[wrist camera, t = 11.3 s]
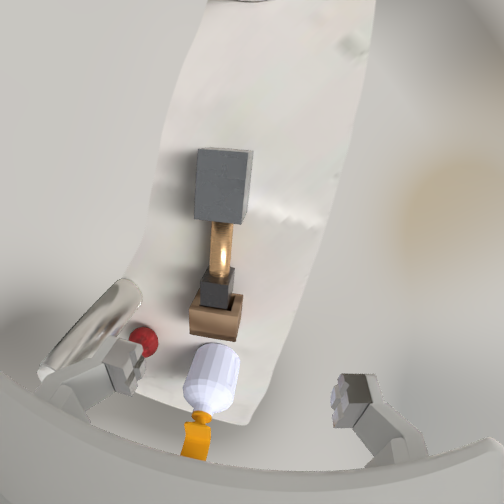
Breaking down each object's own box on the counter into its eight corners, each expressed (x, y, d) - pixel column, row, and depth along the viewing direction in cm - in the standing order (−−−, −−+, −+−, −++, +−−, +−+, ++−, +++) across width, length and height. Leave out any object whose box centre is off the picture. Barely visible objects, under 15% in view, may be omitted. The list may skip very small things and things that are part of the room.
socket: (199, 288, 45) (188, 308, 40) (243, 295, 45) (237, 317, 39) (199, 312, 47) (189, 334, 42) (240, 318, 47) (235, 342, 41)
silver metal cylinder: (126, 311, 50) (59, 404, 27) (108, 285, 48) (29, 370, 25) (149, 302, 48) (80, 403, 25) (129, 273, 46) (44, 366, 23)
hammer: (212, 211, 40) (202, 222, 35) (239, 215, 39) (233, 226, 34) (208, 308, 46) (200, 328, 41) (231, 312, 46) (225, 332, 41)
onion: (141, 314, 49) (123, 339, 42) (167, 328, 50) (151, 355, 42) (135, 332, 52) (118, 357, 44) (159, 345, 52) (145, 372, 45)
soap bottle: (242, 346, 50) (219, 463, 27) (238, 376, 53) (218, 481, 31) (195, 338, 50) (153, 447, 27) (196, 369, 54) (162, 468, 31)
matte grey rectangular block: (211, 147, 36) (198, 148, 31) (253, 150, 36) (248, 152, 30) (206, 206, 40) (194, 218, 34) (247, 211, 40) (241, 224, 34)
